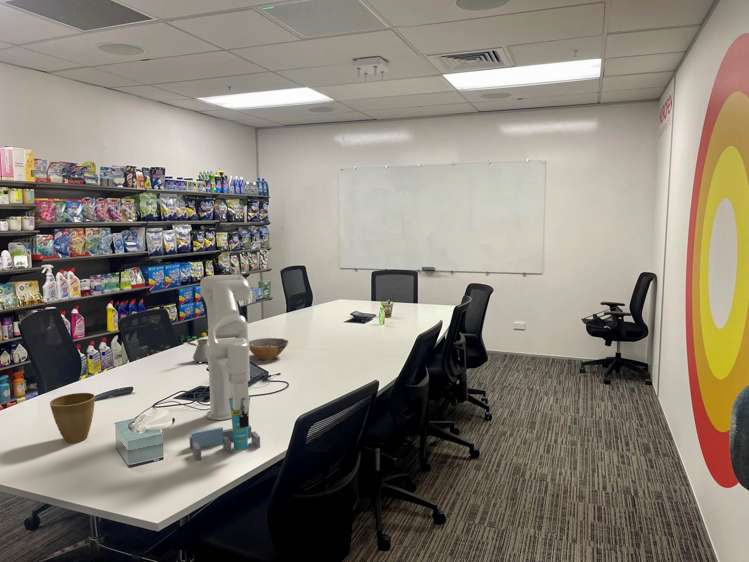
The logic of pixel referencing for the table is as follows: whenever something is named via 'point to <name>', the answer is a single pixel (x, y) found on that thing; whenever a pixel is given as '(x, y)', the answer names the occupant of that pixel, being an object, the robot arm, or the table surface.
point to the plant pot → (73, 415)
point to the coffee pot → (200, 350)
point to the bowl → (267, 347)
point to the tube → (238, 429)
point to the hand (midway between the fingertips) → (240, 422)
